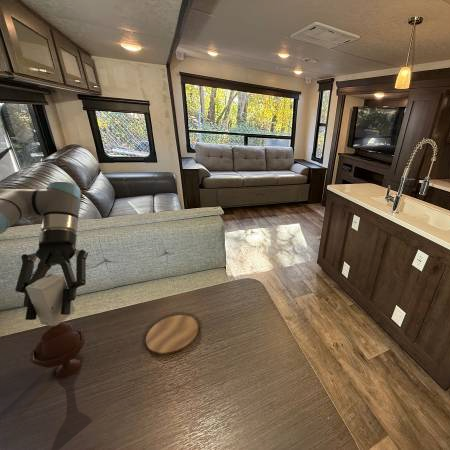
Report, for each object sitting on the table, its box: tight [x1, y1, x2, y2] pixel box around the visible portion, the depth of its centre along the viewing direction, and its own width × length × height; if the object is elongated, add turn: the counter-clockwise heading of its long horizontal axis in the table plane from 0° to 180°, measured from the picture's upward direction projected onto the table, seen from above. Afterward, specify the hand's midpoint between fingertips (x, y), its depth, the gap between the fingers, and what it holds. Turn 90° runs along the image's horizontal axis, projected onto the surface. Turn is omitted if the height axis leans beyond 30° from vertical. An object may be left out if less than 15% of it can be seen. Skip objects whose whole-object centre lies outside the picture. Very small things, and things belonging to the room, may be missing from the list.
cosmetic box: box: [26, 273, 76, 327], centre depth 65 cm, size 6×4×12 cm
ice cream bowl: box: [30, 322, 86, 379], centre depth 68 cm, size 11×11×15 cm
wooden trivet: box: [145, 314, 199, 355], centre depth 85 cm, size 16×16×1 cm
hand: (48, 316), depth 63 cm, fingers closed on cosmetic box, 6 cm apart
